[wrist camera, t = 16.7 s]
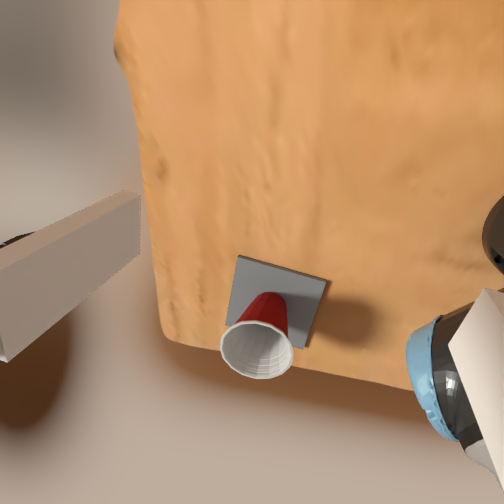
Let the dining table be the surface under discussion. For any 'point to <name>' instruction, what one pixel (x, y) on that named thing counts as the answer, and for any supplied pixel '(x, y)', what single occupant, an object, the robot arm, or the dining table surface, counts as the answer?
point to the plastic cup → (259, 339)
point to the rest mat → (282, 283)
